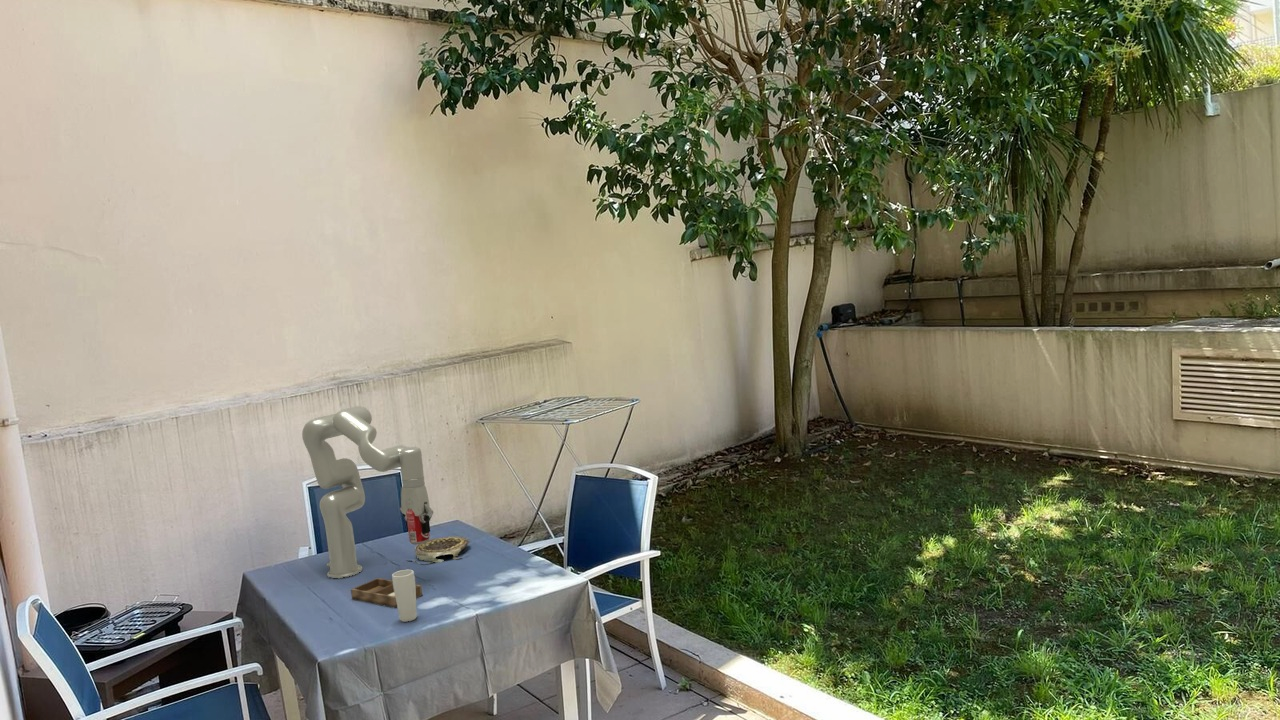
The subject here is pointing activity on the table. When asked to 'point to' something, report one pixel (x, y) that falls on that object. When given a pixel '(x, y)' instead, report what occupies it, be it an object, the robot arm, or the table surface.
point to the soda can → (416, 528)
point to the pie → (440, 548)
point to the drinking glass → (405, 594)
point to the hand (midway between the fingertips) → (418, 531)
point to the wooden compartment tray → (379, 592)
